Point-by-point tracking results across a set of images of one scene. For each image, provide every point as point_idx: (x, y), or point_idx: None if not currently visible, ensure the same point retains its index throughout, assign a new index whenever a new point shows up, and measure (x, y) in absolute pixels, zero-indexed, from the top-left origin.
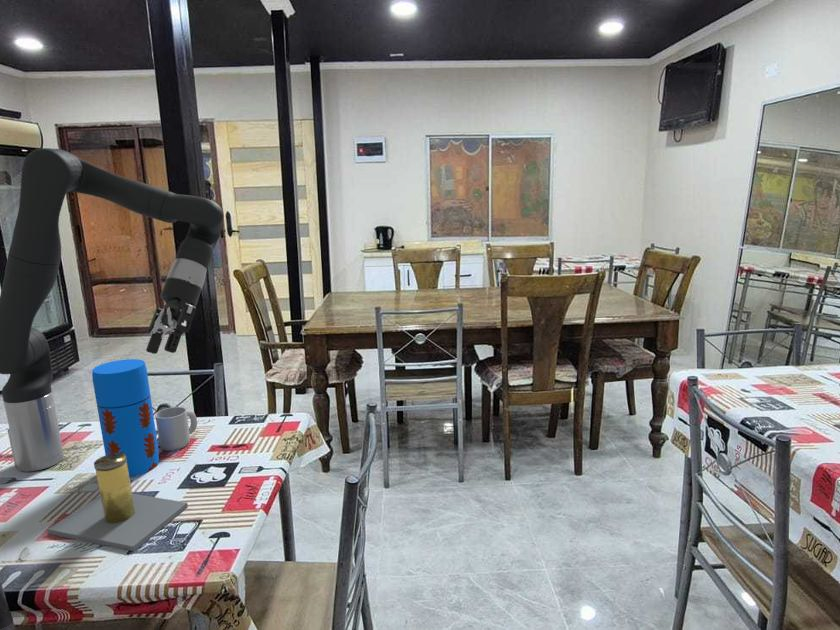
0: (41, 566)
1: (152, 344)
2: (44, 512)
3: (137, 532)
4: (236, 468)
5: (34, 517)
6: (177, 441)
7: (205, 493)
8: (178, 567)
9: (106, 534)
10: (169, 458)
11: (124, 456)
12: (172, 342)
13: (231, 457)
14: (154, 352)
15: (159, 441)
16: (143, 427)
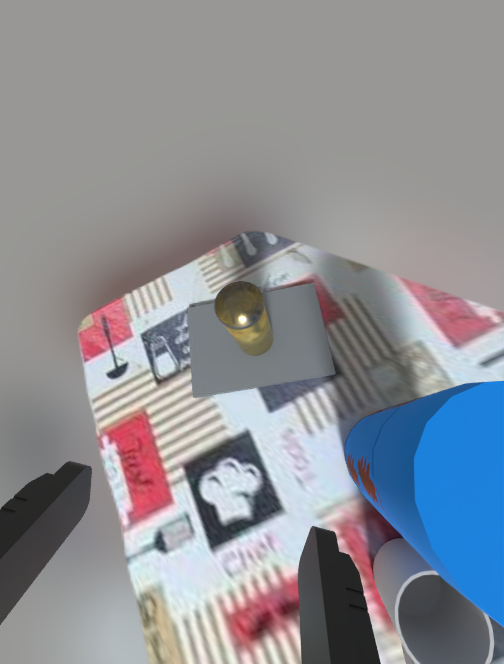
0: (260, 256)
1: (314, 588)
2: (373, 306)
3: (203, 325)
4: (201, 526)
5: (372, 295)
6: (379, 562)
7: (196, 436)
8: (127, 315)
9: None
10: (356, 511)
11: (225, 321)
12: (7, 506)
13: (239, 564)
14: (301, 560)
15: None
16: (358, 462)
